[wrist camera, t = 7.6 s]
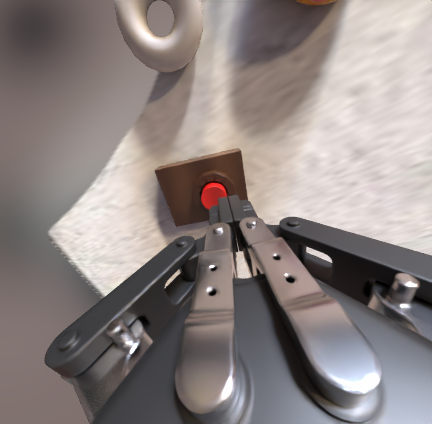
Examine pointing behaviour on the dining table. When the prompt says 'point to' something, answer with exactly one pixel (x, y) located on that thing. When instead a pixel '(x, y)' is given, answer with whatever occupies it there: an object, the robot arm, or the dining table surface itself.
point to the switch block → (200, 183)
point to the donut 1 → (161, 46)
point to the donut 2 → (315, 2)
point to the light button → (212, 194)
